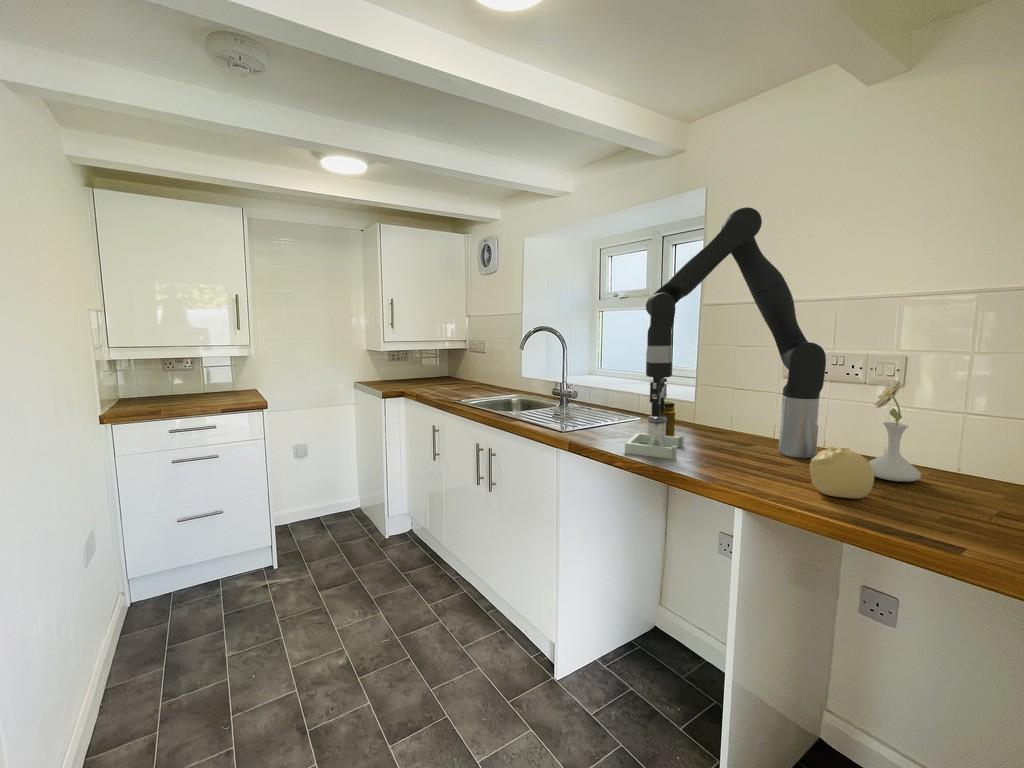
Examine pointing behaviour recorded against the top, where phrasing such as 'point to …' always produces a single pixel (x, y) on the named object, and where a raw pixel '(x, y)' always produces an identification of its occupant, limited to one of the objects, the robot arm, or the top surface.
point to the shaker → (656, 431)
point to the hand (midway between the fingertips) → (658, 414)
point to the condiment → (669, 418)
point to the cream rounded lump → (841, 473)
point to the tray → (651, 450)
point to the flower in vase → (893, 444)
